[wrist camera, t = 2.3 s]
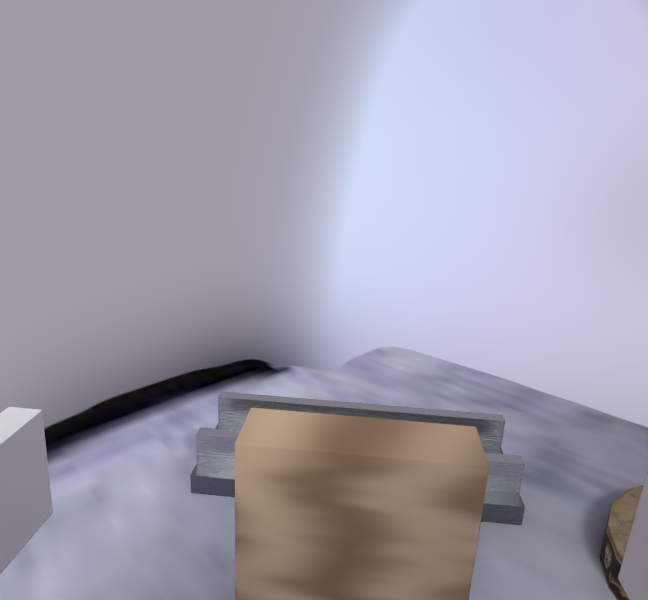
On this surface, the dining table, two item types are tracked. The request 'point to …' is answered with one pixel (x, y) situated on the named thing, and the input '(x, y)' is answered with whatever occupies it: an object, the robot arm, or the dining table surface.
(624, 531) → the wood log slice
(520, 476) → the track
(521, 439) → the dining table surface
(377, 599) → the door
